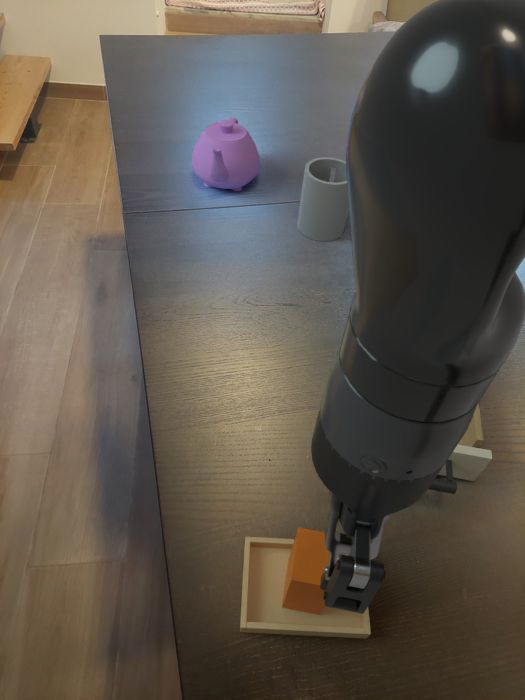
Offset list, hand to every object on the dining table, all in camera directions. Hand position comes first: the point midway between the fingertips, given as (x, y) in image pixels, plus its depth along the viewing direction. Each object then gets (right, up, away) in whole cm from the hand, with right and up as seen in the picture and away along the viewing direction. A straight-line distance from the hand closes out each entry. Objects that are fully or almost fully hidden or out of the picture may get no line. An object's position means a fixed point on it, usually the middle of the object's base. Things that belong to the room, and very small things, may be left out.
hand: (338, 531), depth 40 cm
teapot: (-14, +50, +68) cm, 85 cm away
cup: (+5, +38, +59) cm, 71 cm away
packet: (-2, -11, +15) cm, 19 cm away
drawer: (+15, +4, +29) cm, 33 cm away
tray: (-2, -12, +15) cm, 19 cm away
